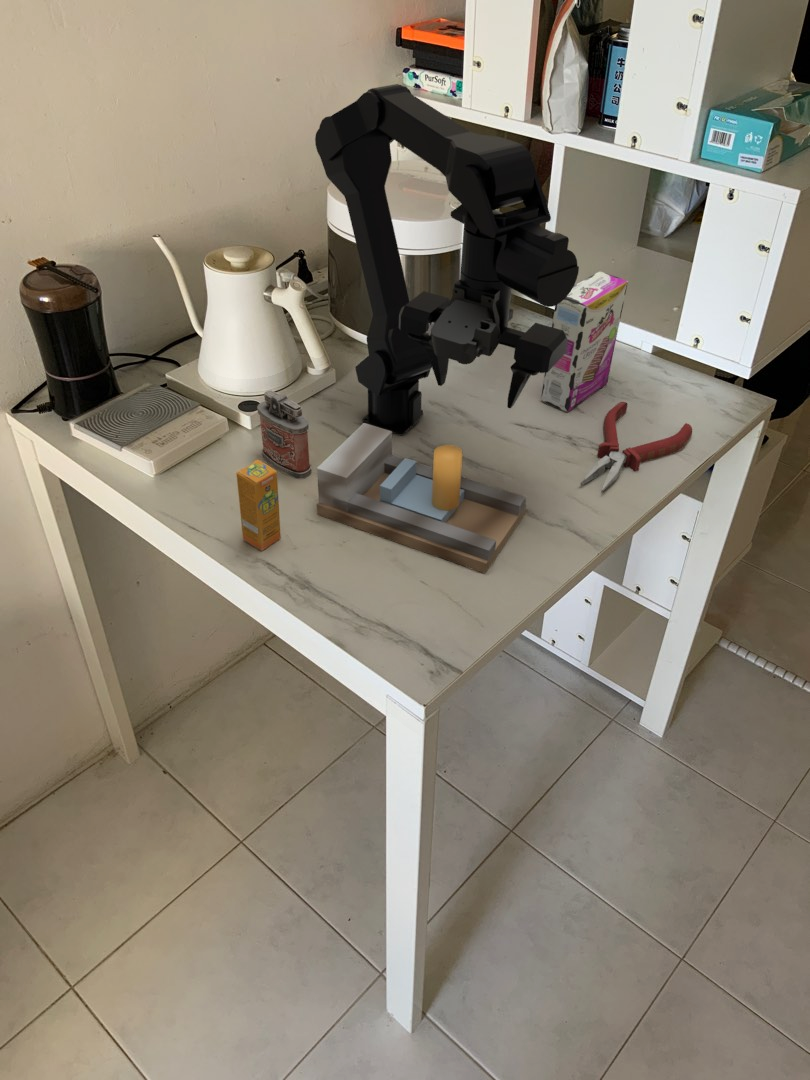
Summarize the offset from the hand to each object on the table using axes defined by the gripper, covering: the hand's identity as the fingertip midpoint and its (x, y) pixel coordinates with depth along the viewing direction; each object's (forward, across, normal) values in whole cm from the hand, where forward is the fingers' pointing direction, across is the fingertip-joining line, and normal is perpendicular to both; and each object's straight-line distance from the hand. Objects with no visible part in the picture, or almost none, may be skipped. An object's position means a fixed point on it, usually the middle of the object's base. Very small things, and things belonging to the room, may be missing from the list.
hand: (475, 395), depth 104 cm
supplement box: (+12, -14, -24) cm, 30 cm away
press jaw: (+10, -1, -10) cm, 14 cm away
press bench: (+12, -1, -10) cm, 16 cm away
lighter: (+12, -21, -10) cm, 26 cm away
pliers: (+12, +14, +16) cm, 25 cm away
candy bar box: (+12, +4, +26) cm, 29 cm away
